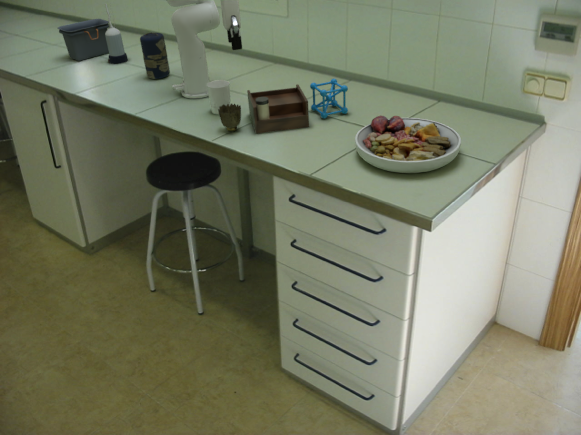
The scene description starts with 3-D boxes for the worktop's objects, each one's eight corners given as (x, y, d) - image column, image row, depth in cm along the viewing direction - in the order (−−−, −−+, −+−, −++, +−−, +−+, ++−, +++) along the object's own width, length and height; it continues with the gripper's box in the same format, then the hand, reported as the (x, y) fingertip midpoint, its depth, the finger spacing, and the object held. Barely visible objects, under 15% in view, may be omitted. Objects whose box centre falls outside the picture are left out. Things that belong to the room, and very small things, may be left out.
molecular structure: (309, 110, 206) (308, 82, 200) (335, 104, 209) (335, 77, 204) (322, 120, 198) (321, 91, 193) (349, 114, 201) (349, 85, 196)
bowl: (481, 155, 170) (485, 130, 166) (406, 189, 156) (407, 163, 152) (406, 124, 191) (408, 101, 187) (334, 151, 177) (333, 127, 173)
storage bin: (104, 47, 287) (97, 17, 279) (120, 53, 277) (114, 21, 269) (62, 58, 275) (54, 27, 267) (78, 65, 265) (70, 32, 257)
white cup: (215, 117, 205) (211, 89, 200) (206, 109, 211) (203, 82, 206) (236, 112, 208) (232, 84, 203) (227, 105, 214) (224, 78, 209)
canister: (159, 81, 240) (151, 36, 230) (142, 78, 244) (133, 34, 235) (175, 74, 247) (168, 30, 237) (158, 71, 251) (150, 28, 241)
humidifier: (106, 61, 267) (93, 4, 254) (122, 57, 272) (110, 0, 258) (114, 65, 262) (102, 6, 248) (131, 60, 266) (119, 2, 253)
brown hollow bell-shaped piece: (239, 135, 191) (237, 112, 187) (217, 134, 193) (214, 111, 188) (245, 126, 197) (243, 103, 193) (224, 125, 199) (221, 102, 194)
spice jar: (258, 123, 191) (256, 102, 187) (256, 118, 195) (254, 97, 191) (271, 121, 192) (269, 100, 188) (269, 116, 195) (267, 96, 191)
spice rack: (255, 133, 192) (253, 107, 187) (249, 115, 205) (247, 90, 200) (309, 126, 194) (308, 100, 189) (299, 109, 207) (298, 84, 202)
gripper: (213, -14, 190) (220, 40, 199) (219, -4, 175) (226, 54, 184) (237, -16, 191) (243, 38, 200) (244, -7, 176) (250, 51, 185)
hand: (235, 45), depth 192 cm, fingers open, 9 cm apart
